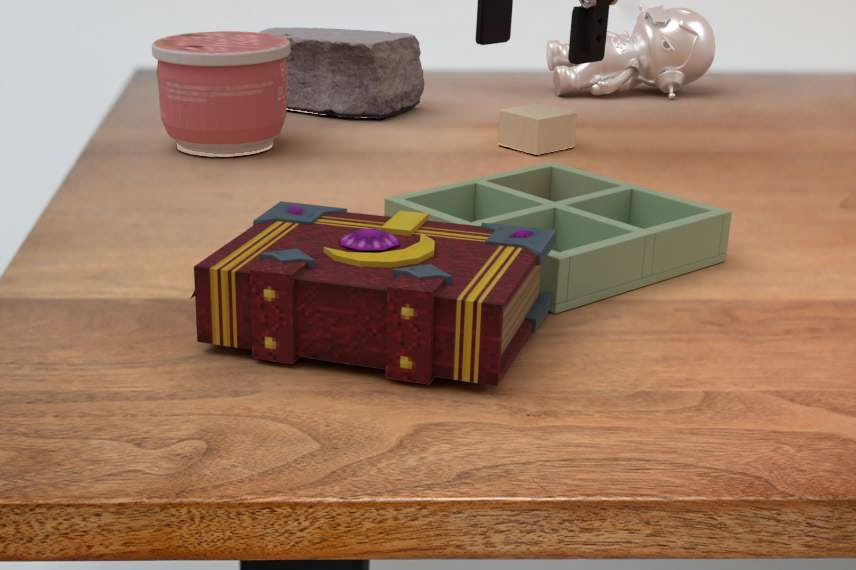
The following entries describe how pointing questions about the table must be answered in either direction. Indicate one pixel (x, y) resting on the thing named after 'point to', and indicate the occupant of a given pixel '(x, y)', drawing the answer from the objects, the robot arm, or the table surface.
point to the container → (222, 89)
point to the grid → (585, 227)
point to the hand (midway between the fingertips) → (537, 52)
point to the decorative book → (376, 292)
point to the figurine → (641, 55)
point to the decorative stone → (352, 71)
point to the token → (537, 128)
